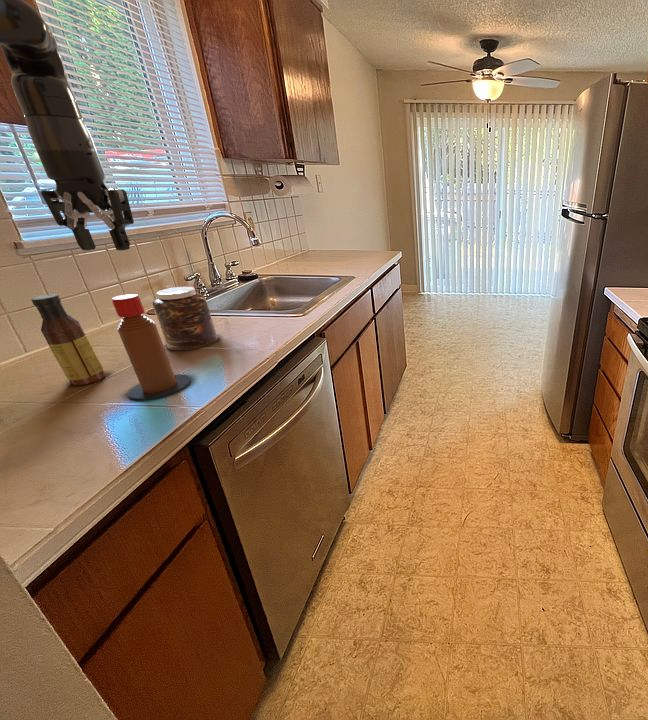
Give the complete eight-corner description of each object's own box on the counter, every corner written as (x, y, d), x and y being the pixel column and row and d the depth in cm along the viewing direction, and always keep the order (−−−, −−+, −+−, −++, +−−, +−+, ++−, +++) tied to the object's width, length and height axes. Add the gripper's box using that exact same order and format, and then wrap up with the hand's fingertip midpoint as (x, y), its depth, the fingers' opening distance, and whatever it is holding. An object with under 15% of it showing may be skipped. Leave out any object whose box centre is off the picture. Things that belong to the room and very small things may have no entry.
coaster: (115, 400, 82) (113, 398, 82) (157, 376, 92) (156, 374, 92) (165, 401, 82) (164, 399, 81) (202, 377, 92) (201, 375, 91)
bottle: (135, 392, 84) (97, 303, 76) (158, 379, 89) (124, 295, 81) (162, 393, 84) (127, 303, 75) (183, 380, 89) (152, 295, 81)
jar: (217, 332, 119) (201, 282, 112) (218, 344, 110) (202, 291, 103) (168, 341, 113) (149, 289, 107) (166, 354, 104) (145, 298, 98)
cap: (113, 317, 78) (105, 299, 76) (131, 311, 82) (124, 294, 80) (132, 317, 78) (125, 299, 76) (149, 311, 81) (143, 294, 80)
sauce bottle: (102, 371, 95) (64, 290, 87) (110, 378, 92) (72, 294, 83) (65, 382, 90) (22, 297, 82) (72, 390, 87) (28, 301, 78)
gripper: (2, 148, 65) (50, 253, 72) (85, 146, 64) (125, 253, 71) (50, 151, 71) (89, 247, 78) (125, 149, 71) (158, 246, 78)
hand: (106, 249), depth 75 cm, fingers open, 6 cm apart
